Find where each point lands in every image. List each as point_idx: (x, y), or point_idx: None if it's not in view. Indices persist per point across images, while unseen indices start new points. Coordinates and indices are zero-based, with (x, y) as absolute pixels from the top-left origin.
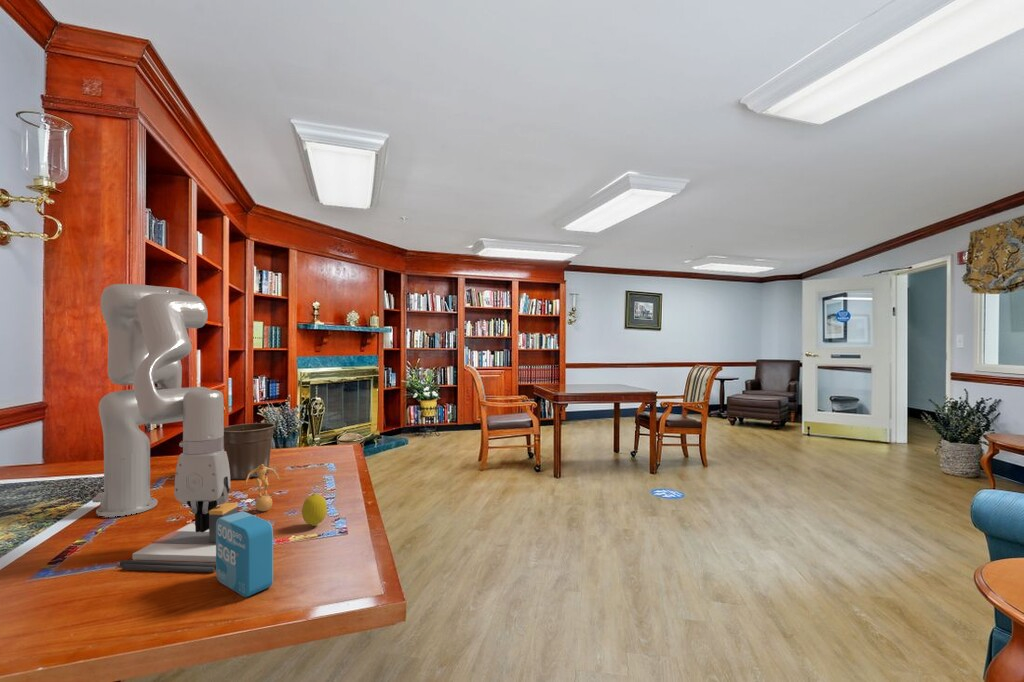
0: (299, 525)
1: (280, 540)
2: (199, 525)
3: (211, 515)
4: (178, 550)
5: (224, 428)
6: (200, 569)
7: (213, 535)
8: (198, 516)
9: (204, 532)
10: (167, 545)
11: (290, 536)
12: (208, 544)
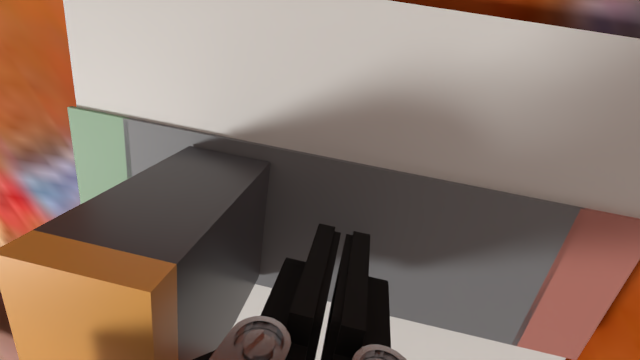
0: None
1: (16, 204)
2: (342, 261)
3: (158, 252)
4: (413, 78)
5: None
6: None
7: (227, 172)
8: (337, 309)
9: None
10: (527, 170)
11: (6, 238)
12: (267, 145)
